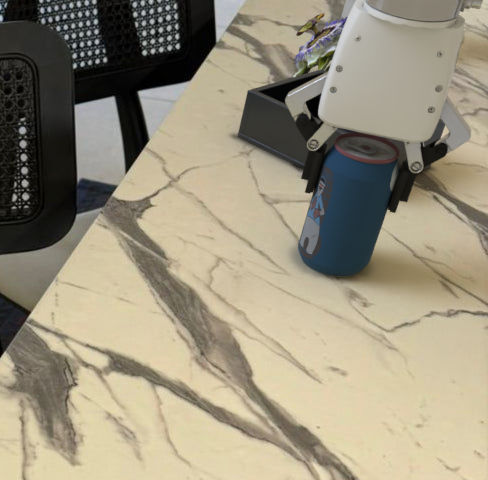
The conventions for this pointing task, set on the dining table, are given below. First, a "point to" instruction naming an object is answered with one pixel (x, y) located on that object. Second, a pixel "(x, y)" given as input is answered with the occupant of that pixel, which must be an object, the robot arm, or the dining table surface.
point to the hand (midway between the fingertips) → (351, 195)
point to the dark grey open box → (292, 122)
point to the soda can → (349, 204)
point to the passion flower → (318, 45)
